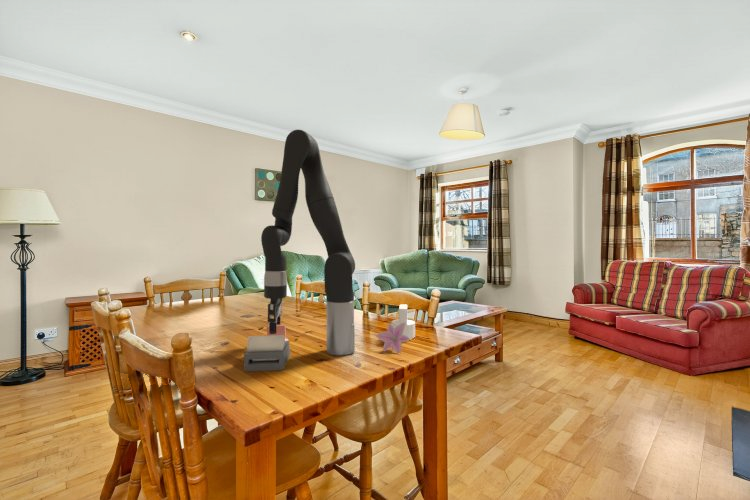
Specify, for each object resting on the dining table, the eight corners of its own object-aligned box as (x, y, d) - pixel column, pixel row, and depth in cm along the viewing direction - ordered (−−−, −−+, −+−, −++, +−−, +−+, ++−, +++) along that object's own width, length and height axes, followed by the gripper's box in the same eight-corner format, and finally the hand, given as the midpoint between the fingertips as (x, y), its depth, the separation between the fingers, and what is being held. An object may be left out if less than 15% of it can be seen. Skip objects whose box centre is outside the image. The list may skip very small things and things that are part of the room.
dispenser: (290, 354, 116) (289, 326, 116) (283, 369, 102) (283, 339, 102) (255, 355, 115) (255, 327, 114) (244, 371, 101) (243, 340, 100)
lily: (373, 349, 124) (370, 331, 119) (395, 333, 129) (393, 314, 125) (395, 367, 116) (393, 348, 112) (417, 348, 122) (416, 330, 118)
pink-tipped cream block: (288, 340, 124) (288, 324, 123) (278, 359, 104) (278, 341, 103) (266, 340, 123) (265, 324, 123) (251, 360, 103) (251, 341, 103)
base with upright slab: (392, 334, 140) (392, 304, 139) (414, 334, 139) (415, 304, 138) (390, 340, 131) (390, 308, 130) (415, 341, 130) (415, 309, 130)
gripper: (283, 286, 115) (283, 336, 115) (289, 281, 129) (288, 325, 129) (259, 286, 114) (259, 336, 114) (268, 281, 128) (267, 325, 129)
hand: (275, 330), depth 122 cm, fingers open, 8 cm apart
